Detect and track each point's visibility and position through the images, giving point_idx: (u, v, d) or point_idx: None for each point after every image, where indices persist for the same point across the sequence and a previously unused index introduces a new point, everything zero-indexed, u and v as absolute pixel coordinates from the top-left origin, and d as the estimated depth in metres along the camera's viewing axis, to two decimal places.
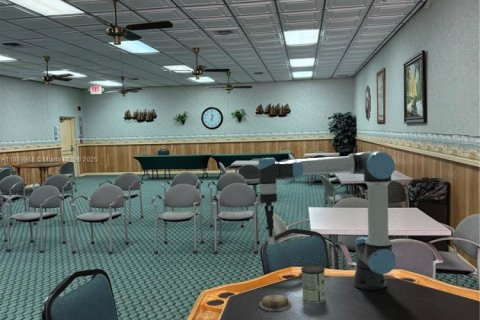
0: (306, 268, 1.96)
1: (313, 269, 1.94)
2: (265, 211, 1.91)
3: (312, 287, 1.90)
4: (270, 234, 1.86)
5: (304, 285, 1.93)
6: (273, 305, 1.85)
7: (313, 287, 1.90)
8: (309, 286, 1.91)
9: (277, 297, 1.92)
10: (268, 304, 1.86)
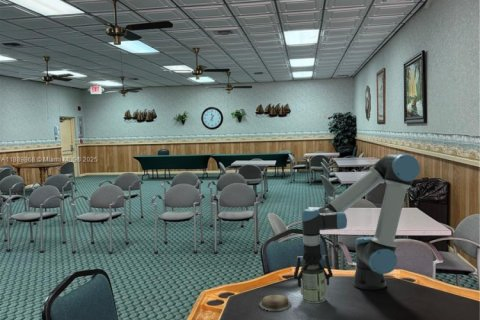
0: None
1: (313, 269, 1.94)
2: None
3: (311, 287, 1.90)
4: (298, 284, 1.95)
5: (304, 285, 1.93)
6: (273, 305, 1.85)
7: (313, 287, 1.90)
8: (309, 286, 1.91)
9: (277, 297, 1.92)
10: (268, 304, 1.86)
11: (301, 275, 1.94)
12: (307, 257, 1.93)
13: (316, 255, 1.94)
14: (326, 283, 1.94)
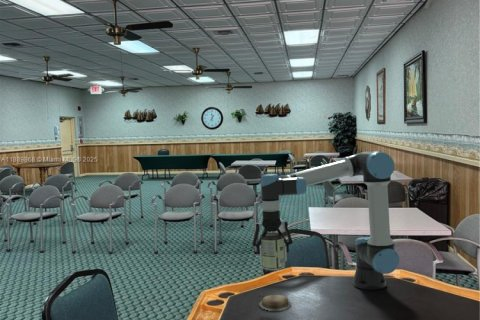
0: (265, 235, 1.90)
1: (272, 236, 1.88)
2: None
3: (270, 253, 1.85)
4: None
5: (262, 252, 1.87)
6: (273, 305, 1.85)
7: (272, 254, 1.85)
8: (267, 253, 1.85)
9: (277, 297, 1.92)
10: (268, 304, 1.86)
11: (260, 242, 1.88)
12: (266, 223, 1.88)
13: (275, 221, 1.88)
14: (286, 250, 1.89)
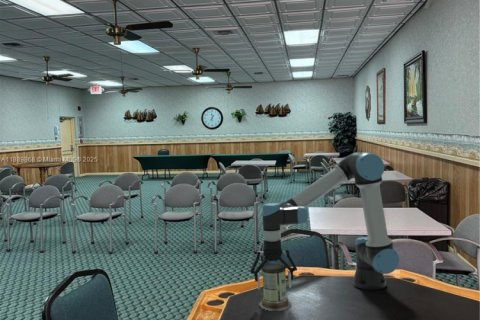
0: (267, 267, 1.91)
1: (274, 268, 1.89)
2: None
3: (271, 286, 1.86)
4: None
5: (264, 285, 1.88)
6: (273, 305, 1.85)
7: (273, 287, 1.85)
8: (269, 286, 1.86)
9: None
10: (268, 304, 1.86)
11: (258, 270, 1.88)
12: (267, 253, 1.88)
13: (276, 251, 1.89)
14: (290, 277, 1.89)
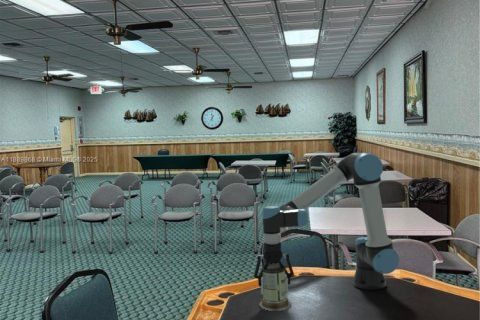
0: (267, 267, 1.91)
1: (273, 268, 1.89)
2: None
3: (271, 286, 1.86)
4: (258, 283, 1.90)
5: (264, 285, 1.88)
6: (273, 305, 1.85)
7: (273, 287, 1.85)
8: (269, 286, 1.86)
9: None
10: (268, 304, 1.86)
11: (261, 274, 1.89)
12: (267, 256, 1.88)
13: (277, 254, 1.89)
14: (287, 282, 1.89)
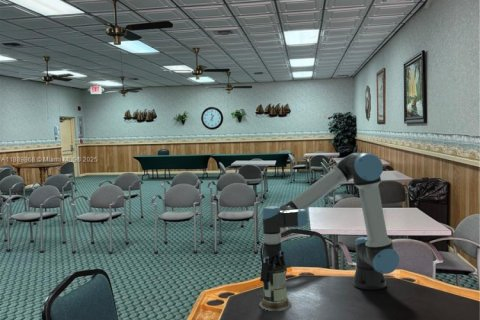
0: (273, 269, 1.87)
1: (276, 267, 1.90)
2: None
3: (285, 283, 1.89)
4: (265, 287, 1.85)
5: (281, 285, 1.86)
6: (273, 305, 1.85)
7: None
8: (285, 283, 1.88)
9: None
10: (268, 304, 1.86)
11: (269, 276, 1.85)
12: (272, 256, 1.87)
13: (277, 253, 1.90)
14: None
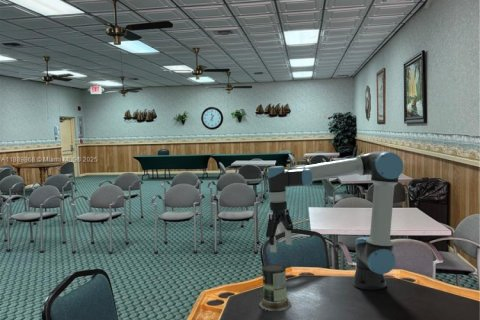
0: (273, 269, 1.87)
1: (276, 267, 1.90)
2: None
3: (285, 283, 1.89)
4: (270, 242, 1.88)
5: (281, 285, 1.86)
6: (273, 305, 1.85)
7: None
8: (285, 283, 1.88)
9: None
10: (268, 304, 1.86)
11: (274, 232, 1.89)
12: (278, 215, 1.92)
13: (282, 212, 1.95)
14: None
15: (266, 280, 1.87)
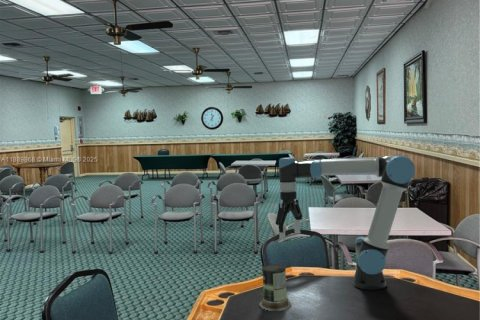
0: (273, 269, 1.87)
1: (276, 267, 1.90)
2: None
3: (285, 283, 1.89)
4: (279, 230, 1.97)
5: (281, 285, 1.86)
6: (273, 305, 1.85)
7: None
8: (285, 283, 1.88)
9: None
10: (268, 304, 1.86)
11: (284, 220, 1.98)
12: (288, 204, 2.01)
13: (292, 201, 2.04)
14: (299, 224, 2.08)
15: (266, 280, 1.87)
